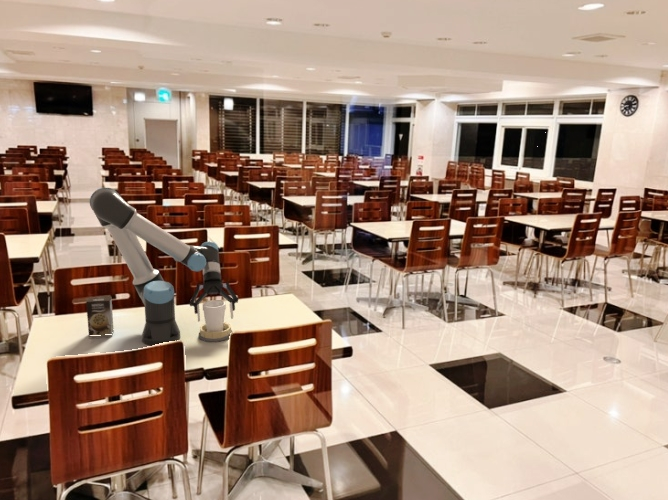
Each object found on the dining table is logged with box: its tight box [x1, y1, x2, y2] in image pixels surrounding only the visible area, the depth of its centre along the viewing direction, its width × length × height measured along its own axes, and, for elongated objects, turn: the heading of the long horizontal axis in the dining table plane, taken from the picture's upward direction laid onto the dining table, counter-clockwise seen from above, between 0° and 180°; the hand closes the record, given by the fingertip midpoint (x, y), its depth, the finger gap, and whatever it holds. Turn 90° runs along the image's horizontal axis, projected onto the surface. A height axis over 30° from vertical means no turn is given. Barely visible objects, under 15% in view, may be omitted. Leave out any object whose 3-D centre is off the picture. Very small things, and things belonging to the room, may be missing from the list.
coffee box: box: [85, 295, 115, 339], centre depth 216 cm, size 9×6×16 cm
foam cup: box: [202, 299, 227, 332], centre depth 219 cm, size 10×9×13 cm
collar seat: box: [198, 321, 233, 343], centre depth 220 cm, size 14×14×4 cm
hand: (215, 318), depth 217 cm, fingers open, 13 cm apart
